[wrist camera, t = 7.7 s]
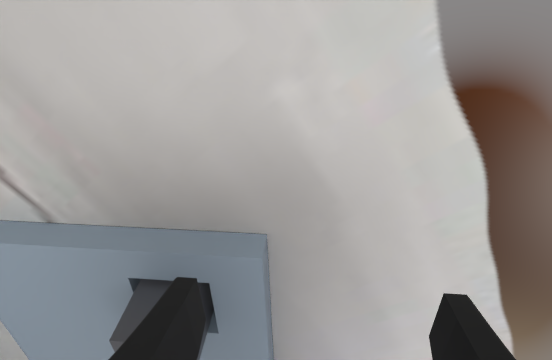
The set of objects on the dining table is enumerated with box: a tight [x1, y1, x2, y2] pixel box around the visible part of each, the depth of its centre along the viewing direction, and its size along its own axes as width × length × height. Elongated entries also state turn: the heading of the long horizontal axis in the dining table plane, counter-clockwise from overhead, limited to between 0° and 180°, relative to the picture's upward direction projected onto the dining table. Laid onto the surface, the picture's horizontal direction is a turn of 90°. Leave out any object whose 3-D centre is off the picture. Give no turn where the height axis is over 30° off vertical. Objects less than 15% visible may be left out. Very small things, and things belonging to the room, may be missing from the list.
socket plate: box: [0, 221, 274, 360], centre depth 27 cm, size 14×20×2 cm
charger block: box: [109, 279, 214, 360], centre depth 23 cm, size 4×4×6 cm
